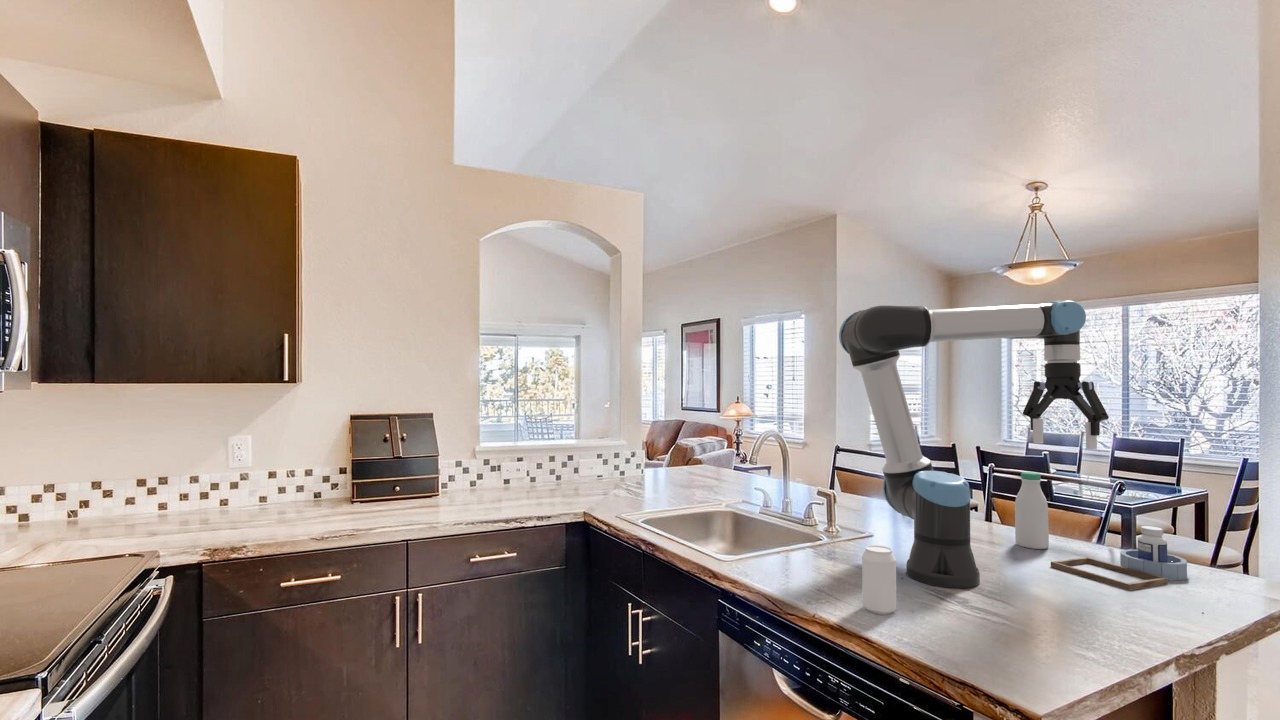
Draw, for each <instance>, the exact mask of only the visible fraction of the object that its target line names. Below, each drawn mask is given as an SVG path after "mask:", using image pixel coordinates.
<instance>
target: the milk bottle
mask: <svg viewBox="0 0 1280 720" xmlns="http://www.w3.org/2000/svg"><path fill="white" fill-rule="evenodd" d="M1041 477H1042V475H1041V473H1039V472H1033V471H1022V472H1020V478H1021V479H1020V480H1021V486H1020V489H1019V491H1018V492H1017V494H1016V497H1015V502H1014V530H1015V531H1014V535H1015V538H1014V539H1015V544H1016V545H1017V546H1019V547H1023V548H1027V549H1031V550H1032V549H1033V550H1047V549H1048V548H1049V544H1050V541H1049V539H1050V534H1049V532H1050V531H1049V506H1048V501H1047V498H1046V496H1045V494H1044V492H1043V491H1042V487H1041V480H1042V478H1041Z"/></svg>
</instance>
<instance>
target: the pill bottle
mask: <svg viewBox="0 0 1280 720" xmlns="http://www.w3.org/2000/svg"><path fill="white" fill-rule="evenodd" d="M1140 527H1141V528H1140V532H1141V534H1140V535H1138V537H1137V550H1138V559H1142V560H1147V561H1154V562H1162V563H1167V554H1168V542H1167V539H1165V538H1164V537H1163V536H1164V530H1163V528H1160V527H1156V526H1150V525H1149V526H1148V525H1143V526H1140Z"/></svg>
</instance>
